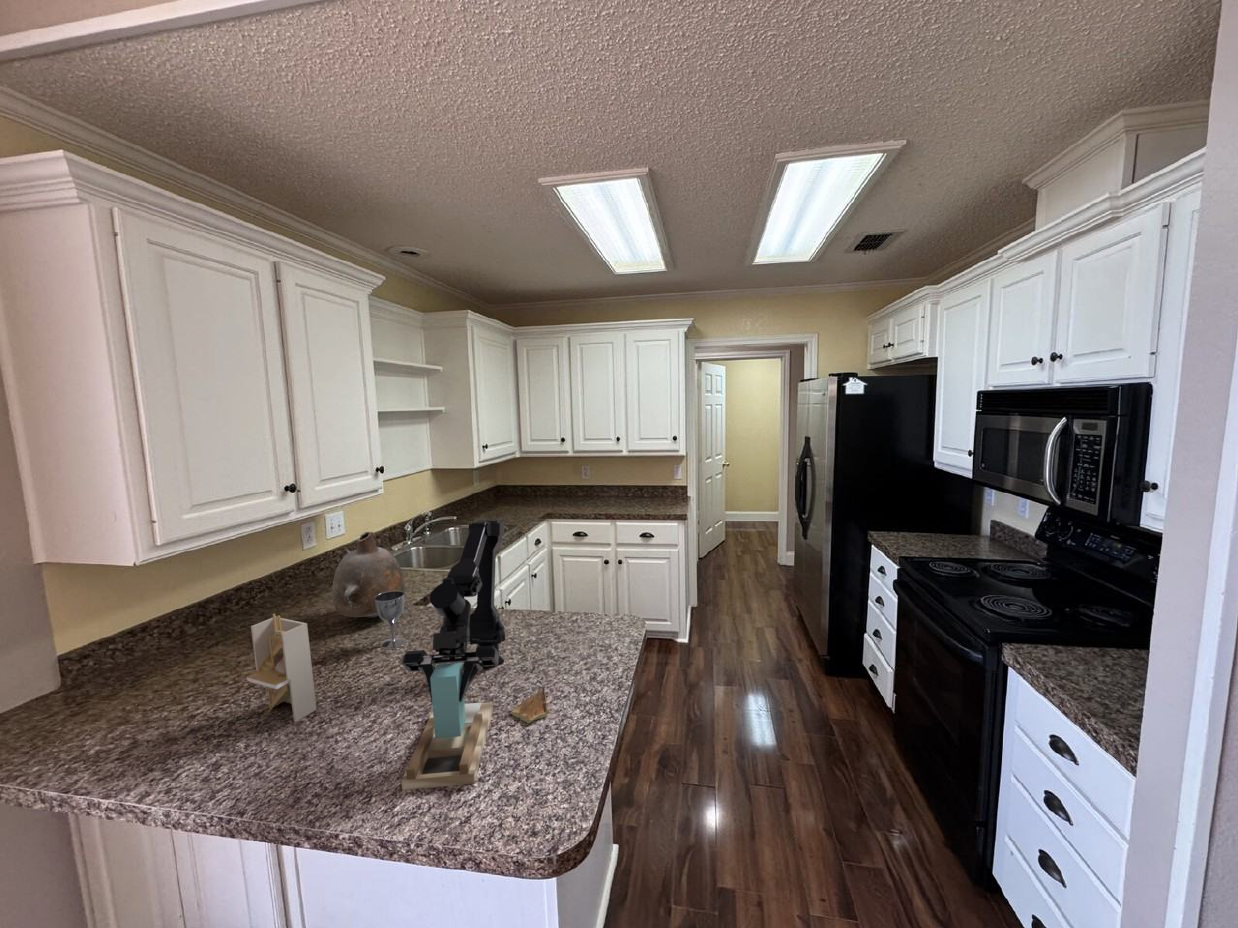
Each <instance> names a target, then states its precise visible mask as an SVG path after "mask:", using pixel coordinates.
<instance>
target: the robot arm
mask: <svg viewBox="0 0 1238 928" xmlns="http://www.w3.org/2000/svg"><path fill="white" fill-rule="evenodd" d="M504 536H505V524H504V523H503V522H501V520H500V519H478V520H476V521H473V522H470V523H469V524H468V533H467V537H466V540H465V543H464V546H463V548H462V551H461V555H460V557H459V560H458V562H457V563H455V564H454V565H453V566H452V567H451V568H450V570H449V572H448V574H447V576H446V577H445V578H443V579H442V583H441V584H438V585H437V586H435V587H434V588H433V590H432V591H431V592H430V596H429V601H430V604H431V605H432V607H433V608H434V609H435V610H436V611H437V613H439V615H440V616H441V617H442V623H441V624H442V626H440V629H439V632H434V633H433V634H432V650H433V651H435V652H436V653H438V654H428V653H427V652H426V651H425V649H421V650H407V651H406V652H405V654H404V655H403V656H402V662H401V665H402V666H403V667H404V668H405V669H406V670H407V671H408V672H412V673H413V672H414V673H415V672H421V673H422V674H423V675H425V679H426V681H427V685H428V691H429V694H430V695H429V696H430V703H432V693H431V681H430V677H431V675H432V674H433V672H434V670H435V668H436V666H437V664H450V663H463V671H462V672H463V678H462V683H461V688H460V695H459V701H460V702H462V701H463V699H464V700H465V696H466V694H467V692H468V690H469V688H470V686H471V684H472V682H473V680H474V679H475V677H476V675H478V672H481V671H483V670H486V669H489V668H493V667H495V666H498V665H501V664H503V663H505V659H504V658H502V656H501V655H500V644H502V642H505V641H506V628H505V626H504V625H503V623H502V621H501V615H500V612H499V611H498V609H497V607H496V606H495V593H496V592H495V588H496V587H495V585H496V558H497V557H496V555H497V554H496V553H497V551H498V549H499V548H500V546H501V545H502V543H503V537H504ZM472 597H473V598H474V597H476V606H475V609H473V612H472V604H471V602H470V601H469V600H468V599H466V598H472ZM468 643H469V644H468ZM468 645H476V648H475V651H468Z"/></svg>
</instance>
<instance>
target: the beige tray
mask: <svg viewBox="0 0 1238 928" xmlns="http://www.w3.org/2000/svg"><path fill="white" fill-rule="evenodd" d="M493 704H494V703H493V701H491V702H490V701H488V702H471V703H465V715H466V722H465V725H464V728H463V731H462V734H461V736H458V737H447V738H435V732H434V719H433V710H432V712H431V713H430V716H429V718H428V720H427V723H426V726H425V727H424V730H423V731H422V734H421V736H420V738H419V741H418V742H417V745H416V747H415V749H414V751H413V754H412V756H411V757H410V760H409V763H408V765H407V766H406V770H405V771H404V774H403V776H402V778H401V789H402V790H401V791H407V790H409V791H410V790H419V789H429V788H440V787H451V786H460V785H468V784H469V785H470V784H475V782H476V778H477V774H478V770H479V766H480V763H481V758H482V755H483V751H484V746H485V743H486V738H487V736H488V731H489V728H490V724H491V719H492V716H493V711H494V705H493Z"/></svg>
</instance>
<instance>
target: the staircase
mask: <svg viewBox="0 0 1238 928" xmlns="http://www.w3.org/2000/svg"><path fill="white" fill-rule="evenodd" d="M250 630H251V638H252V647H253V656H254V661H255V662H254V663H255V669H256V670H255V672H254V673H252V674H249V675H247V676H246V681H247V682H249V683H250V682H251V683H252V684H253V683H254V684H256V685H260V686H264V687H267V688H268V689H267V694H268V695H267V696H268V703H269V704H268V705H269V707H268V708H269V710H270V711H272V710H273V708H275V707H277V706H278V705H280V704H282V703H288V704H290V705H291V707H292V717H293V723H297V722H298V721H300V720H302V719H303V718H305V717H307V716H308V715H310V714H311V713H313V712H314V711H316V710H317V703H316V702H317V701H316V693H315V686H314V683H315V682H314V676H313V674H314V673H313V667H312V657H311V649H310V641H309V640H310V639H309V630H308V623H307V622H303V621H296V620H292V619H287V618H281V615H280V614H279V615H276V613H272V617H271V618H268V619H266V620H263V621H261V622H259V623H256V624H253V625H251V626H250ZM275 663H276V664H275ZM276 667H277V670H276Z"/></svg>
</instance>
